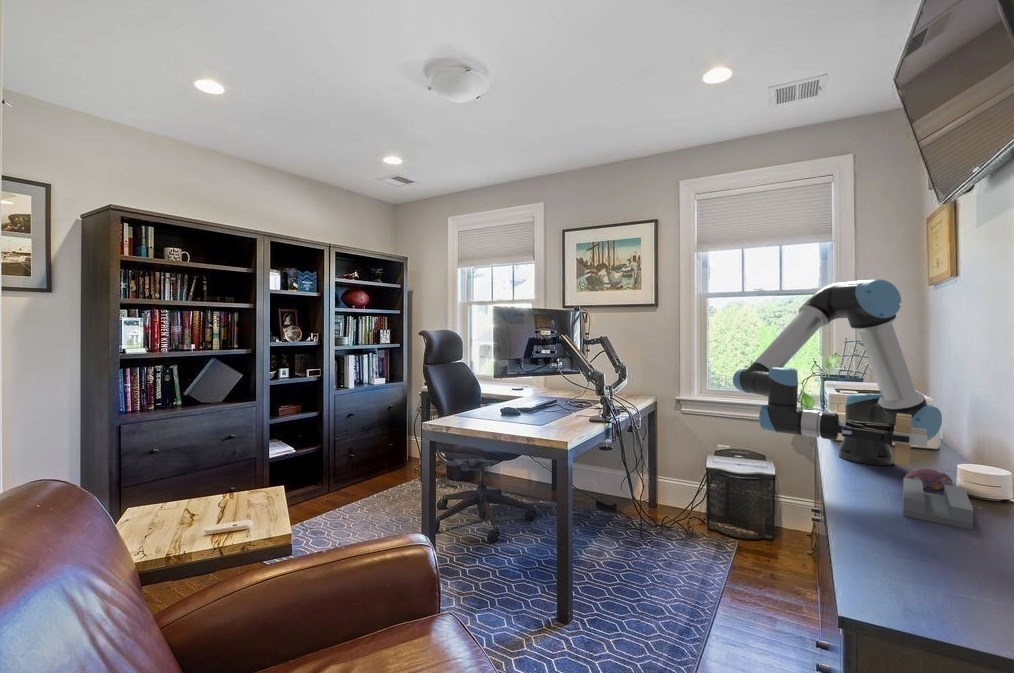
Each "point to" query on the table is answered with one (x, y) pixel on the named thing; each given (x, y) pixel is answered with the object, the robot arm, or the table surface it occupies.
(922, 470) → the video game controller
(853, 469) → the table surface
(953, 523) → the grooved sill
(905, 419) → the oak plank
